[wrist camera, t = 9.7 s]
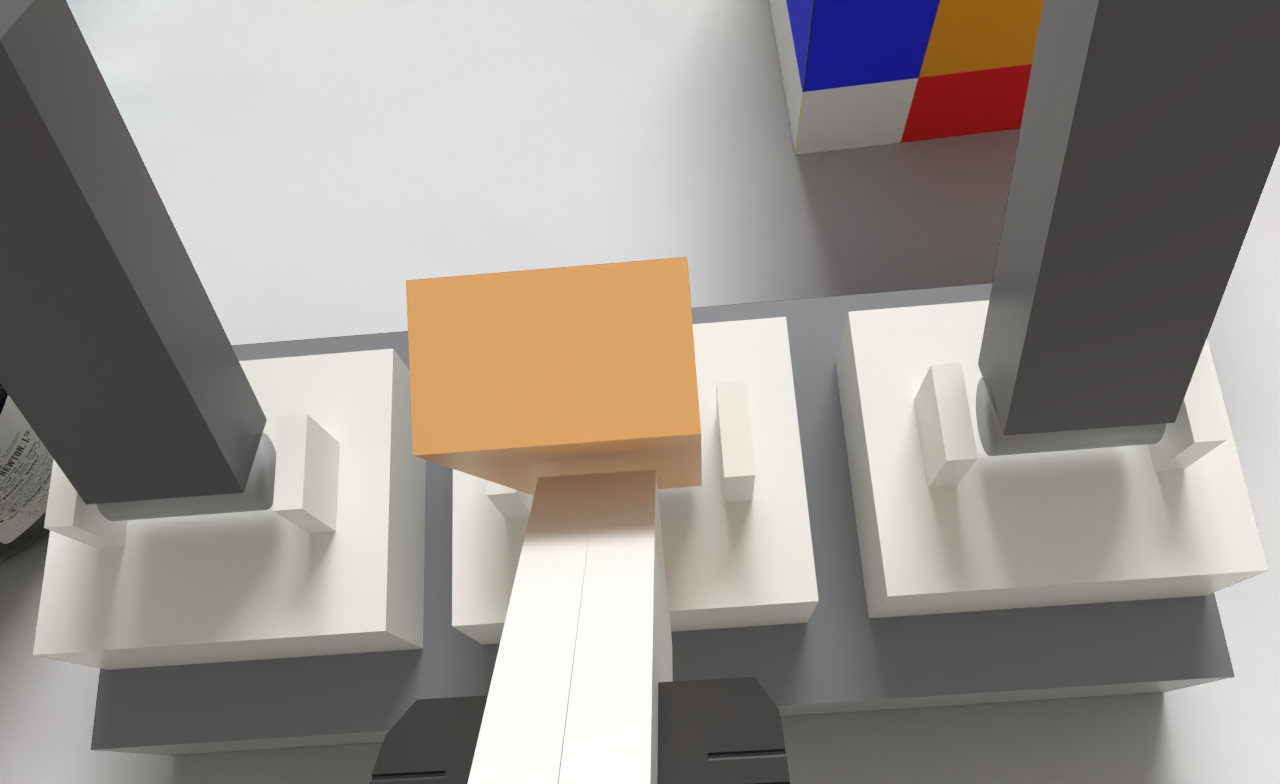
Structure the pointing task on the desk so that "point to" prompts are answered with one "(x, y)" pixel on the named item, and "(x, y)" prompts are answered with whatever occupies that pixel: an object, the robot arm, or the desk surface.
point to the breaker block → (730, 434)
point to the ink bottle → (21, 480)
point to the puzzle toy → (902, 68)
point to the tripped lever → (557, 373)
